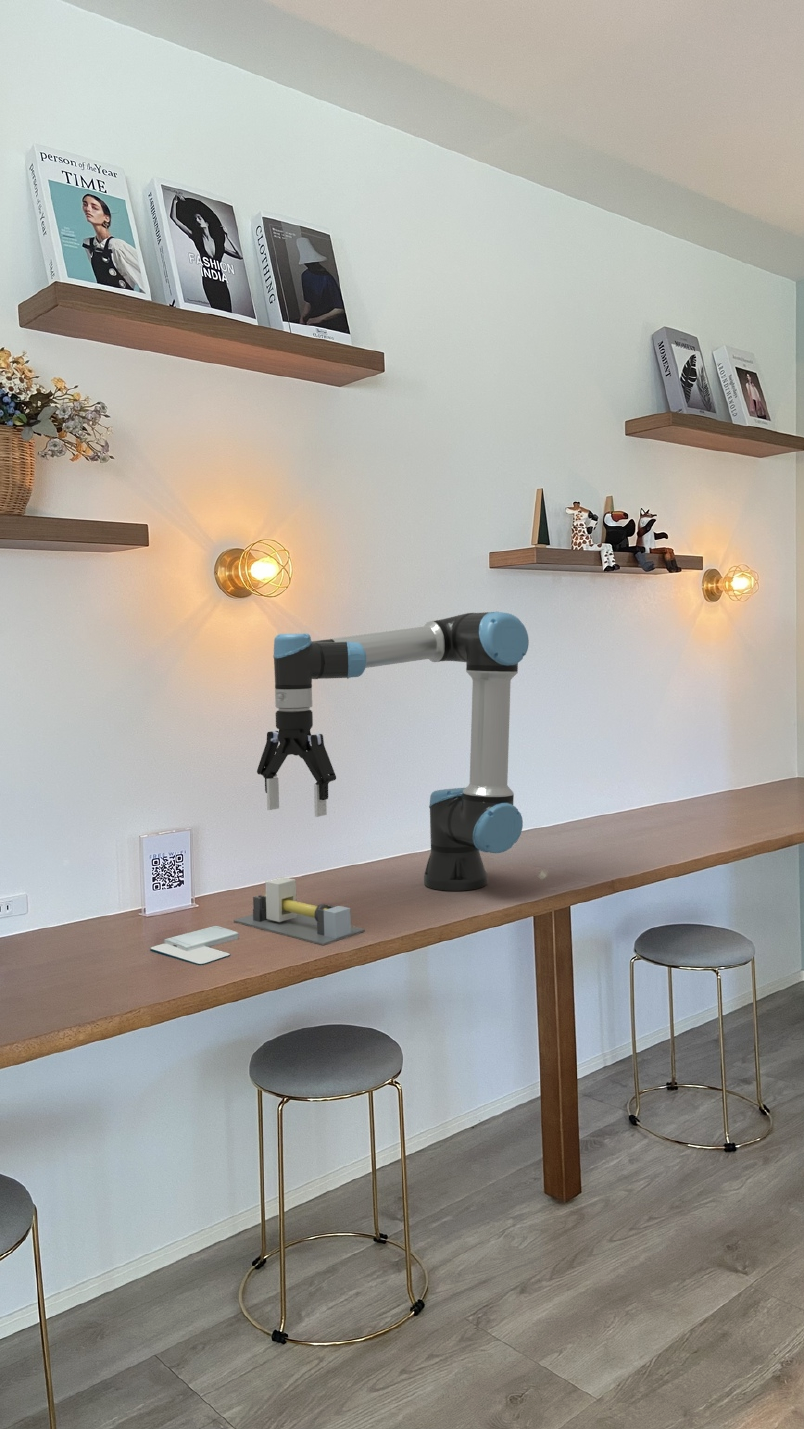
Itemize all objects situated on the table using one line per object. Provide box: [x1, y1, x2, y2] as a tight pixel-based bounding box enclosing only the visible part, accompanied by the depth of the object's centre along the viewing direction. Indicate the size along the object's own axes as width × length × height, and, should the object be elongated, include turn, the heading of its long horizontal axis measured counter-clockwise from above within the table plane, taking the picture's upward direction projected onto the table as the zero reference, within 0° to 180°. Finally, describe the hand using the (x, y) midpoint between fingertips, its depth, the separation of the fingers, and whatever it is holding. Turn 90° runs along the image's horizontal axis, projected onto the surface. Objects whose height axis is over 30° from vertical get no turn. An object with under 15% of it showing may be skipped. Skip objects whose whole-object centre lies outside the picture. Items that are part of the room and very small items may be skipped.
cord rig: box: [233, 894, 366, 946], centre depth 221 cm, size 27×12×6 cm, turn 49°
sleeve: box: [265, 876, 297, 922], centre depth 224 cm, size 4×5×8 cm
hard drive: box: [163, 925, 240, 951], centre depth 212 cm, size 2×8×12 cm
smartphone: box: [149, 942, 231, 966], centre depth 205 cm, size 8×1×16 cm
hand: (296, 812), depth 218 cm, fingers open, 13 cm apart
